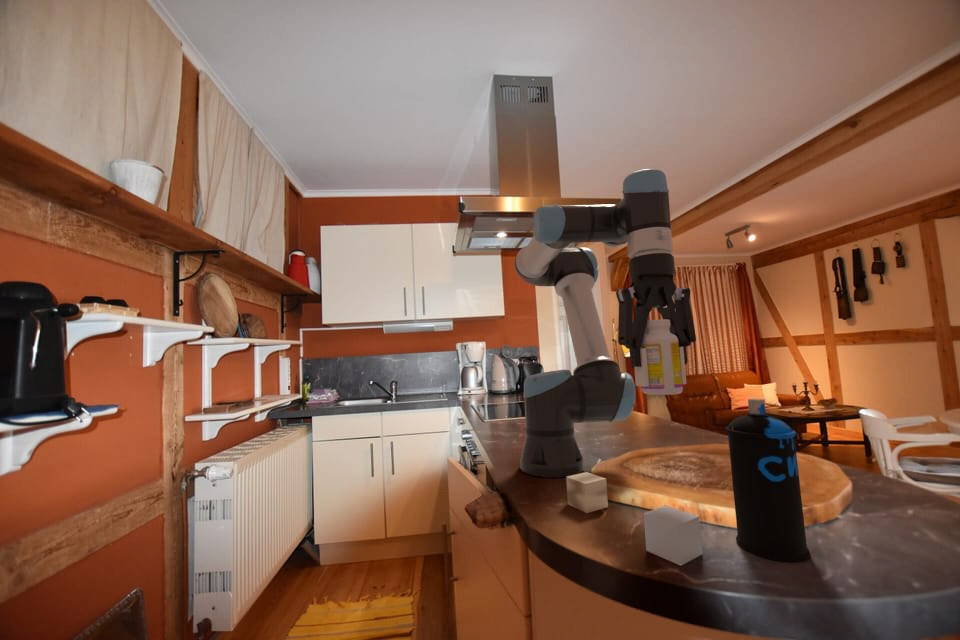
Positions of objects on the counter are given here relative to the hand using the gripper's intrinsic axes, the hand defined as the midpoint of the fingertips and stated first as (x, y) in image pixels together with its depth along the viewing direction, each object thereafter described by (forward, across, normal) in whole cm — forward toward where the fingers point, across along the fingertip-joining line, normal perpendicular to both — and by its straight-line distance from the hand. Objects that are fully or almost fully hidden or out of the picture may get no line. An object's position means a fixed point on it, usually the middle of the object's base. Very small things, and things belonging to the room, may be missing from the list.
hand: (660, 384), depth 70 cm
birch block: (+22, -12, +7) cm, 26 cm away
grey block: (+21, -9, -12) cm, 26 cm away
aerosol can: (+22, +4, -15) cm, 27 cm away
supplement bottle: (+2, 0, 0) cm, 2 cm away
